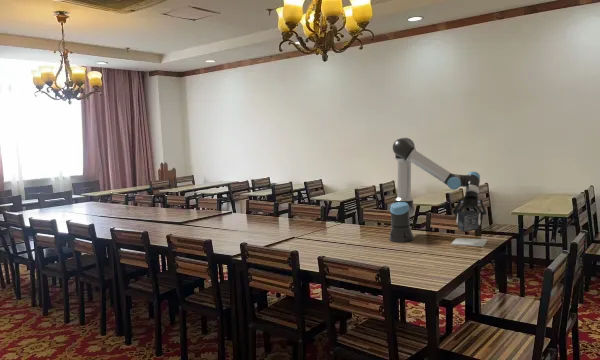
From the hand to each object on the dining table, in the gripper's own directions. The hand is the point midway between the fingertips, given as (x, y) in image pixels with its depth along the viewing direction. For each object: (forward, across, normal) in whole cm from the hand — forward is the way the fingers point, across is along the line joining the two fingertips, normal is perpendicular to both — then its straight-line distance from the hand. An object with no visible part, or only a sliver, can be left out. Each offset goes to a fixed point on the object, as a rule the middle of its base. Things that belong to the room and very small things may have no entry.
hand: (468, 223), depth 279 cm
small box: (+1, +1, -4) cm, 4 cm away
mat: (+7, 0, -10) cm, 13 cm away
